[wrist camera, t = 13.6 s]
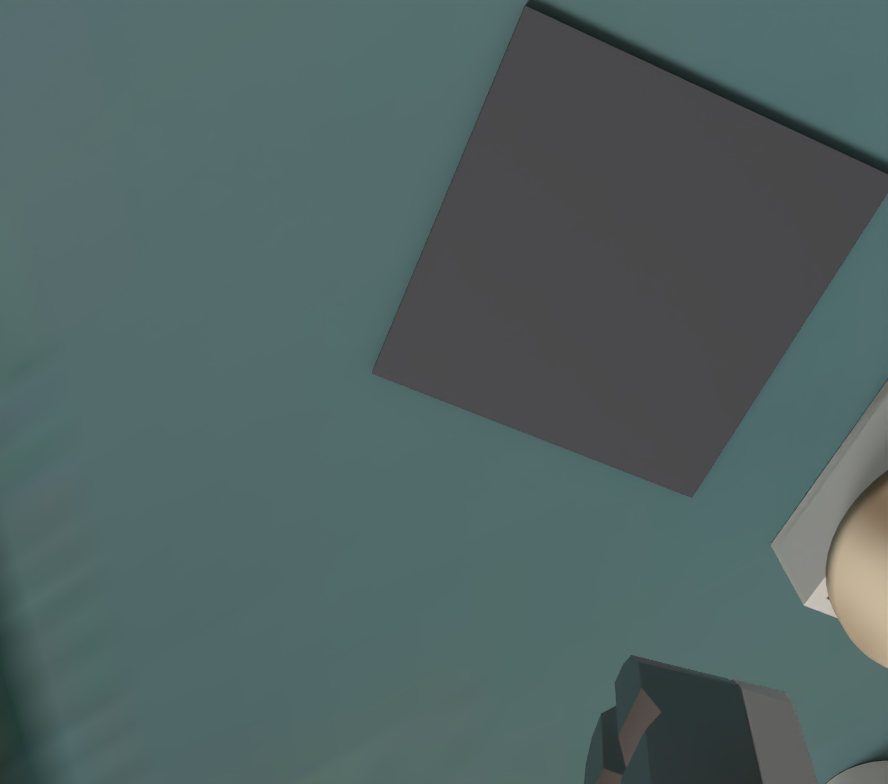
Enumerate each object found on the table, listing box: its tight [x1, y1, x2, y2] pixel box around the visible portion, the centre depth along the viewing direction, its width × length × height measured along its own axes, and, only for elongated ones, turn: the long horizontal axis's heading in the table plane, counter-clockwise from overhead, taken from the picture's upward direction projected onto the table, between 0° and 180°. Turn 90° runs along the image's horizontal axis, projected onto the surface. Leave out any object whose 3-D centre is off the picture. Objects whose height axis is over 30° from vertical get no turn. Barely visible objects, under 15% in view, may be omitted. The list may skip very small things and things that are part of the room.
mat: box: [372, 6, 888, 498], centre depth 36 cm, size 16×16×1 cm
